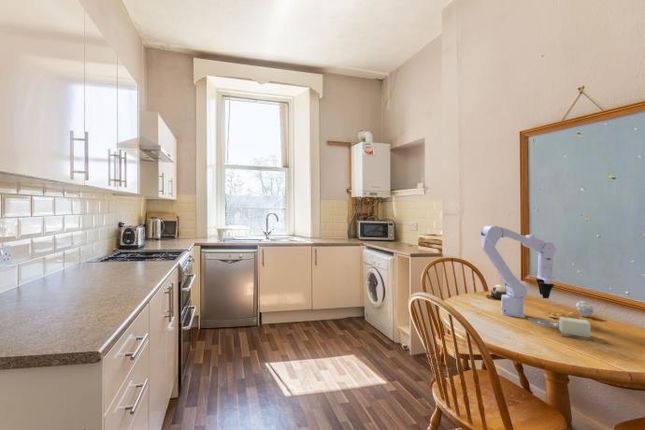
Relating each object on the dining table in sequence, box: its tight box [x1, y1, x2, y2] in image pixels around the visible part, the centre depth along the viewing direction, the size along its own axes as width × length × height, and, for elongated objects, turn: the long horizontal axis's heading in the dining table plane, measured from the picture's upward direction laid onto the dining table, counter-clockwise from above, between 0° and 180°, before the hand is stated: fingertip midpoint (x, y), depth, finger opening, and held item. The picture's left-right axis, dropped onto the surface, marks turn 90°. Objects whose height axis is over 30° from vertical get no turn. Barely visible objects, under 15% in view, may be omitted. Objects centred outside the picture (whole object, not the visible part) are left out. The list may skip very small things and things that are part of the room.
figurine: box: [547, 311, 580, 319], centre depth 156 cm, size 8×6×12 cm
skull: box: [485, 284, 507, 301], centre depth 192 cm, size 12×10×10 cm
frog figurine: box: [575, 300, 594, 318], centre depth 161 cm, size 6×7×7 cm
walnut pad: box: [555, 327, 594, 342], centre depth 136 cm, size 10×10×1 cm
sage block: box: [558, 316, 592, 337], centre depth 136 cm, size 9×6×5 cm, turn 65°
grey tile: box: [527, 317, 559, 329], centre depth 149 cm, size 14×10×1 cm
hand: (544, 296), depth 159 cm, fingers open, 7 cm apart
